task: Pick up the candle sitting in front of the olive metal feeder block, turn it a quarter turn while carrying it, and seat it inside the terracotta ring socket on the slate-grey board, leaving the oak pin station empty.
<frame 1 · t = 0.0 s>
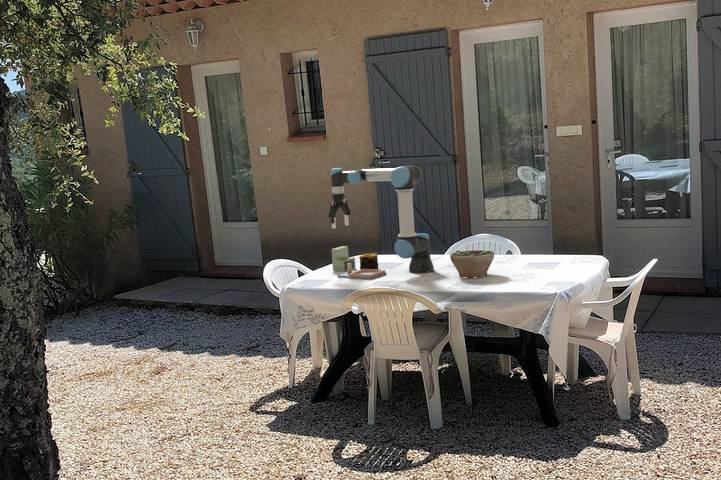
hand: (340, 226, 490), 28 cm above the table, fingers open, 13 cm apart
planter: (473, 276, 451), on the table
feeder: (344, 269, 498), on the table
pin board: (362, 275, 473), on the table
candle: (369, 270, 489), on the table
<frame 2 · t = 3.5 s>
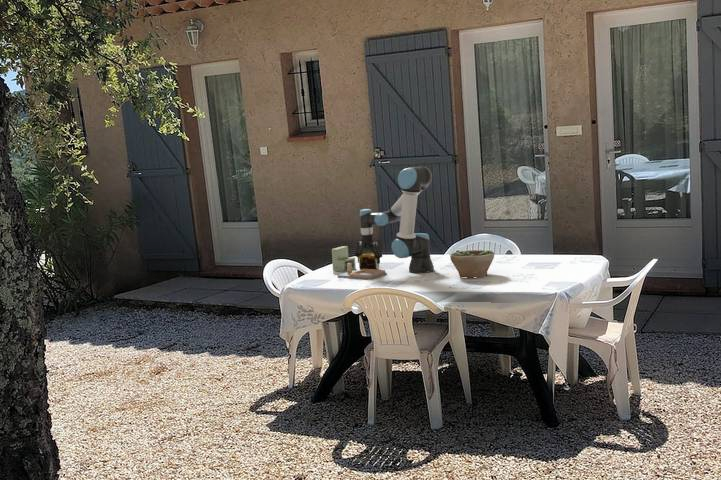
hand: (369, 268, 489), 1 cm above the table, fingers closed on candle, 12 cm apart
candle: (369, 270, 489), on the table, touching gripper
everything else where it was.
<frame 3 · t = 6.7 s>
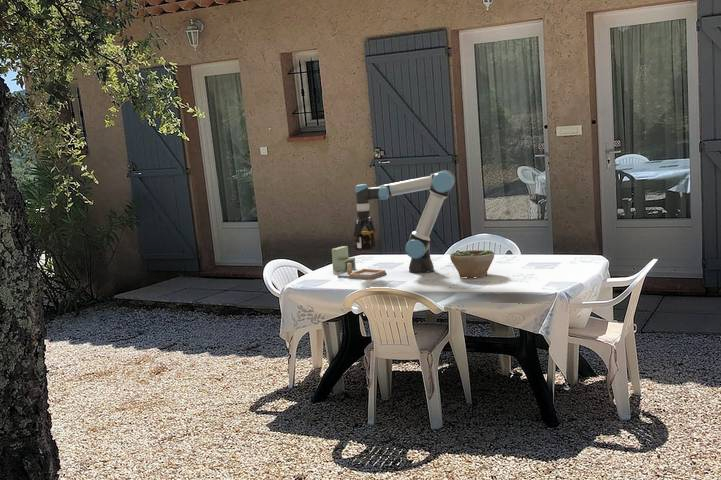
hand: (365, 246, 468), 18 cm above the table, fingers closed on candle, 12 cm apart
candle: (365, 248, 469), point 17 cm above the table, touching gripper
everything else where it was.
when the fingers open (4 cm above the table, at t = 10.3 s): candle drops 2 cm, resting on pin board.
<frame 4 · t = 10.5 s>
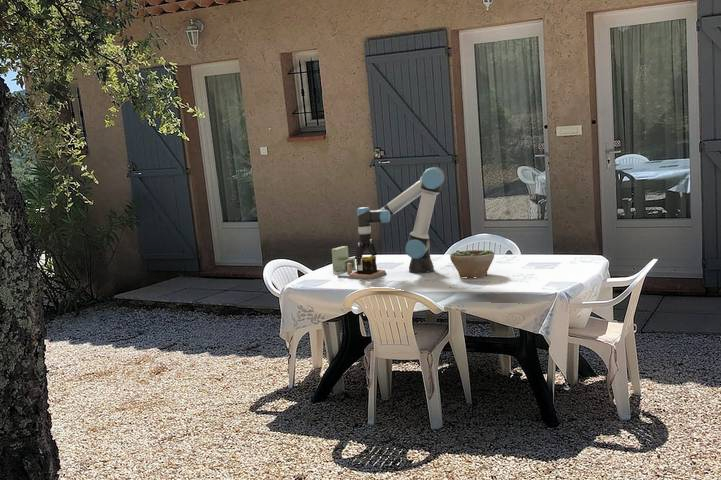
hand: (367, 268, 470), 5 cm above the table, fingers open, 13 cm apart
candle: (367, 274, 471), point 1 cm above the table, touching pin board
everything else where it was.
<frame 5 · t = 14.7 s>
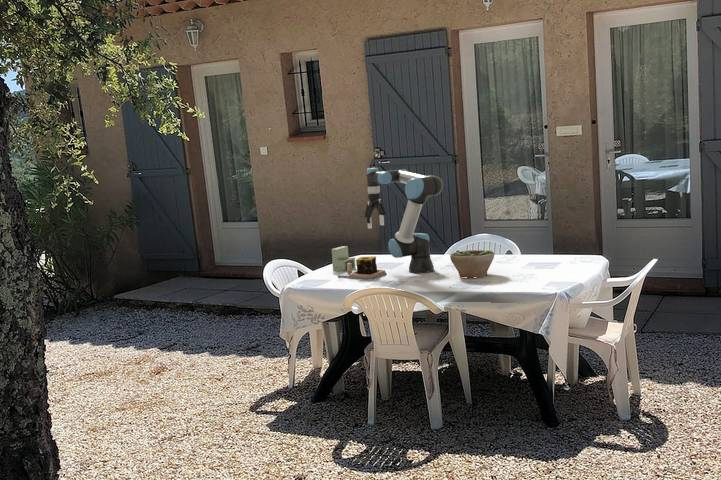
hand: (376, 226, 488), 27 cm above the table, fingers open, 13 cm apart
nothing on the table moved.
at the end: candle inside the target area on the pin board (0.1 cm from its centre), point 1.0 cm above the pin board's base; candle tilted 0°; the gripper is holding nothing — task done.
